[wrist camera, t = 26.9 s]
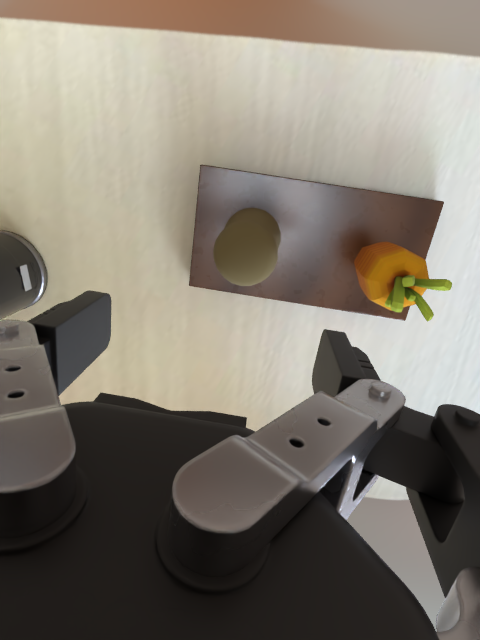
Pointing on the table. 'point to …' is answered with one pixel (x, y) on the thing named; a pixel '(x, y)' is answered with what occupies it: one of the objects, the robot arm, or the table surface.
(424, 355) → the table surface
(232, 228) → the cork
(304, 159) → the table surface
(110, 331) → the robot arm
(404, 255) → the carrot
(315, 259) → the cutting board
